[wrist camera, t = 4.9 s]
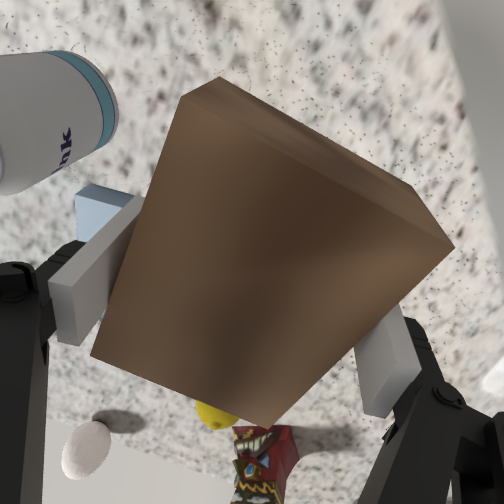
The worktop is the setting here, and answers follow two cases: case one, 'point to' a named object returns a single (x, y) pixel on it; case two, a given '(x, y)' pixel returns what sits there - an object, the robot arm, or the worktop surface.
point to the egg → (85, 449)
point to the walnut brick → (259, 257)
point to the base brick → (97, 210)
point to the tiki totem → (262, 463)
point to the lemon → (215, 416)
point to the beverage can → (50, 115)
